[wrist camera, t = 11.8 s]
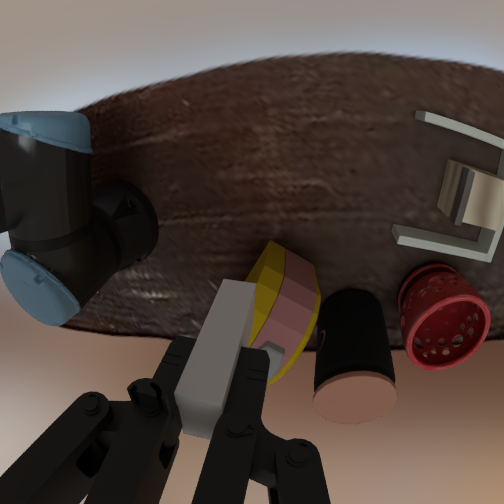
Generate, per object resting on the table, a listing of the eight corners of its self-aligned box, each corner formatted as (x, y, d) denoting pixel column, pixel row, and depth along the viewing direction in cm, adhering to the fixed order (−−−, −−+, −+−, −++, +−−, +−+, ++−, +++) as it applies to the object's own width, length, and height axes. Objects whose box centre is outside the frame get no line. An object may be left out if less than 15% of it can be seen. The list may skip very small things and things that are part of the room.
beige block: (436, 205, 38) (454, 224, 32) (447, 158, 34) (468, 170, 28) (483, 218, 36) (504, 237, 30) (495, 174, 33) (519, 188, 27)
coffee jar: (312, 293, 48) (304, 382, 32) (378, 280, 45) (398, 368, 29) (324, 341, 52) (319, 428, 37) (383, 331, 49) (396, 418, 33)
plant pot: (467, 305, 43) (491, 352, 33) (400, 330, 48) (412, 382, 38) (459, 240, 39) (491, 283, 28) (383, 269, 44) (397, 320, 33)
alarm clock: (274, 322, 52) (253, 410, 36) (232, 300, 52) (196, 383, 36) (324, 258, 45) (322, 346, 29) (276, 230, 44) (249, 309, 28)
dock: (391, 231, 41) (397, 243, 37) (416, 110, 32) (425, 111, 29) (479, 250, 39) (490, 262, 35) (509, 143, 30) (523, 148, 27)
